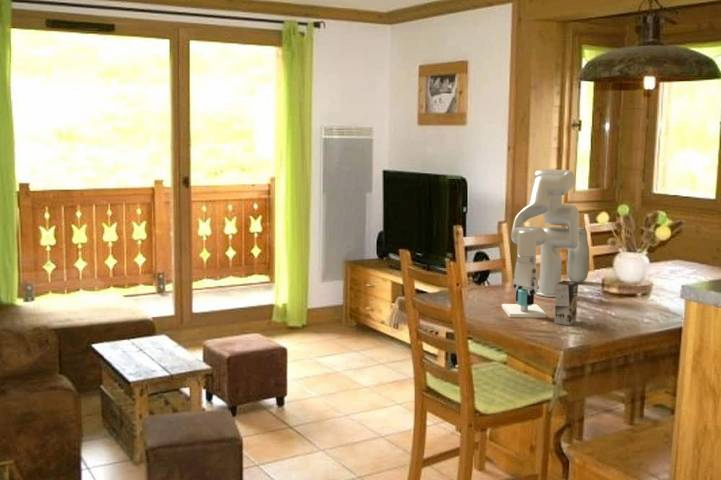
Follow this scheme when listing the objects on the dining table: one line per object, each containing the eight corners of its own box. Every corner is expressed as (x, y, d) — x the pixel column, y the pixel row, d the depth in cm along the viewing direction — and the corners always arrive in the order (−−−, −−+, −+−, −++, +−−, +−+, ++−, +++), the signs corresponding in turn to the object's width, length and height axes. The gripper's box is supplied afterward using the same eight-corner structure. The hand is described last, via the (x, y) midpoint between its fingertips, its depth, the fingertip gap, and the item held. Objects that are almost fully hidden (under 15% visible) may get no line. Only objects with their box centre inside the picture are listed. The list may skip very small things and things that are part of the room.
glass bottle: (570, 279, 399) (573, 225, 395) (590, 282, 393) (593, 227, 389) (563, 282, 391) (566, 227, 387) (583, 285, 386) (586, 229, 382)
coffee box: (569, 325, 306) (571, 285, 303) (553, 323, 309) (555, 283, 307) (576, 320, 313) (578, 281, 311) (561, 318, 317) (563, 279, 315)
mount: (536, 307, 336) (537, 289, 335) (546, 317, 318) (547, 298, 317) (501, 307, 336) (502, 289, 335) (509, 317, 318) (510, 298, 317)
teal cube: (535, 304, 322) (535, 290, 321) (524, 306, 319) (525, 292, 318) (525, 301, 327) (525, 287, 327) (514, 303, 324) (515, 289, 324)
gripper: (547, 262, 315) (546, 305, 318) (519, 255, 330) (517, 297, 332) (533, 263, 311) (532, 307, 314) (505, 257, 326) (503, 299, 329)
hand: (524, 302), depth 323 cm, fingers closed on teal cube, 6 cm apart
